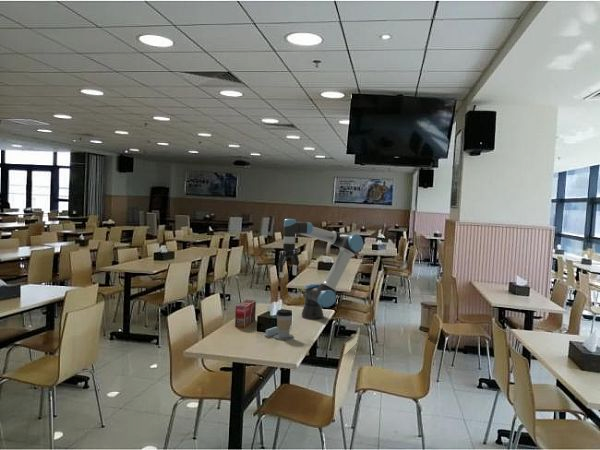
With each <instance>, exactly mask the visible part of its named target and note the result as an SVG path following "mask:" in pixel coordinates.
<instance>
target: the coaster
mask: <svg viewBox="0 0 600 450" xmlns="http://www.w3.org/2000/svg"><path fill="white" fill-rule="evenodd" d="M272 338H273V339H274V340H277V341H291V340H293V339H294V335H293V334H290V333H289V337H286V338H281V337H279V336H278V333H277V334H275V335H272Z"/></svg>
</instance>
